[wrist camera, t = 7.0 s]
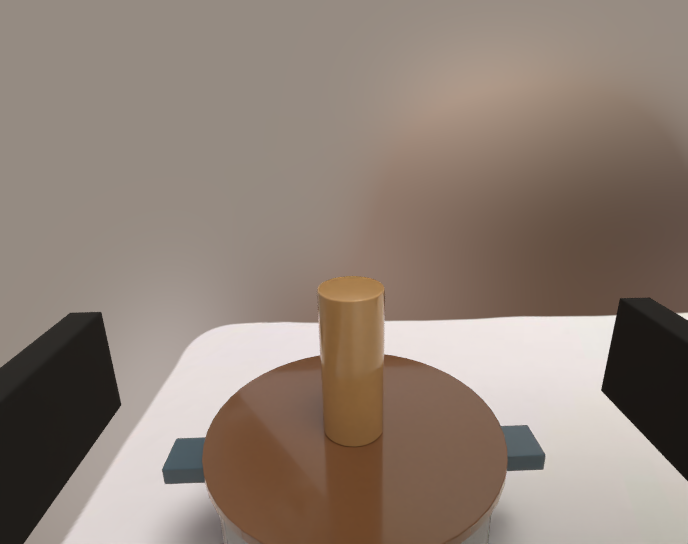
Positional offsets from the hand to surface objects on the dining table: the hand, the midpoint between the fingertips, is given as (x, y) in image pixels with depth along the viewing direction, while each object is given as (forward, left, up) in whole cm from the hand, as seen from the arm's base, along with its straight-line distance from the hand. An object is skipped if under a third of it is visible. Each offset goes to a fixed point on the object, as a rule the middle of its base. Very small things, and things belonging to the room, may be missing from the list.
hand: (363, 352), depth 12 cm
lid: (-8, -5, -11) cm, 15 cm away
